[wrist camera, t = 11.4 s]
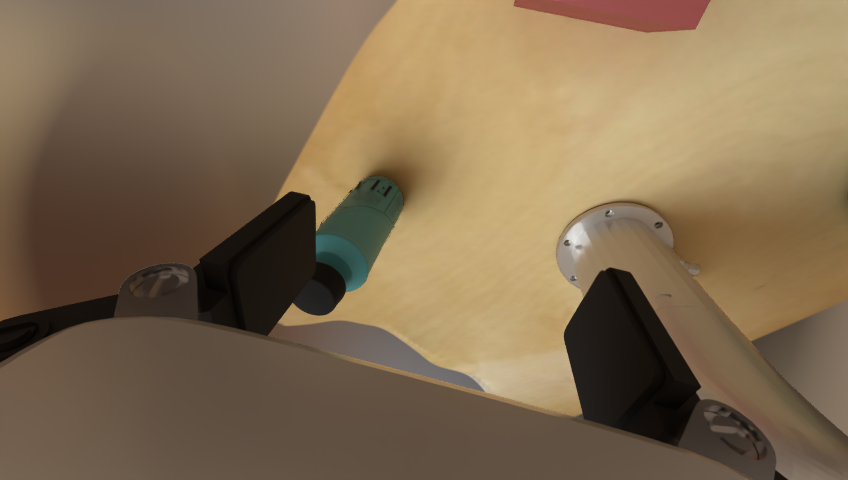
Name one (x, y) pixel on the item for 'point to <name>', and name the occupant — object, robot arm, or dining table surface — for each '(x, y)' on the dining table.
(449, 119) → the dining table surface
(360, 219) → the beverage bottle
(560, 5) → the red slotted block
